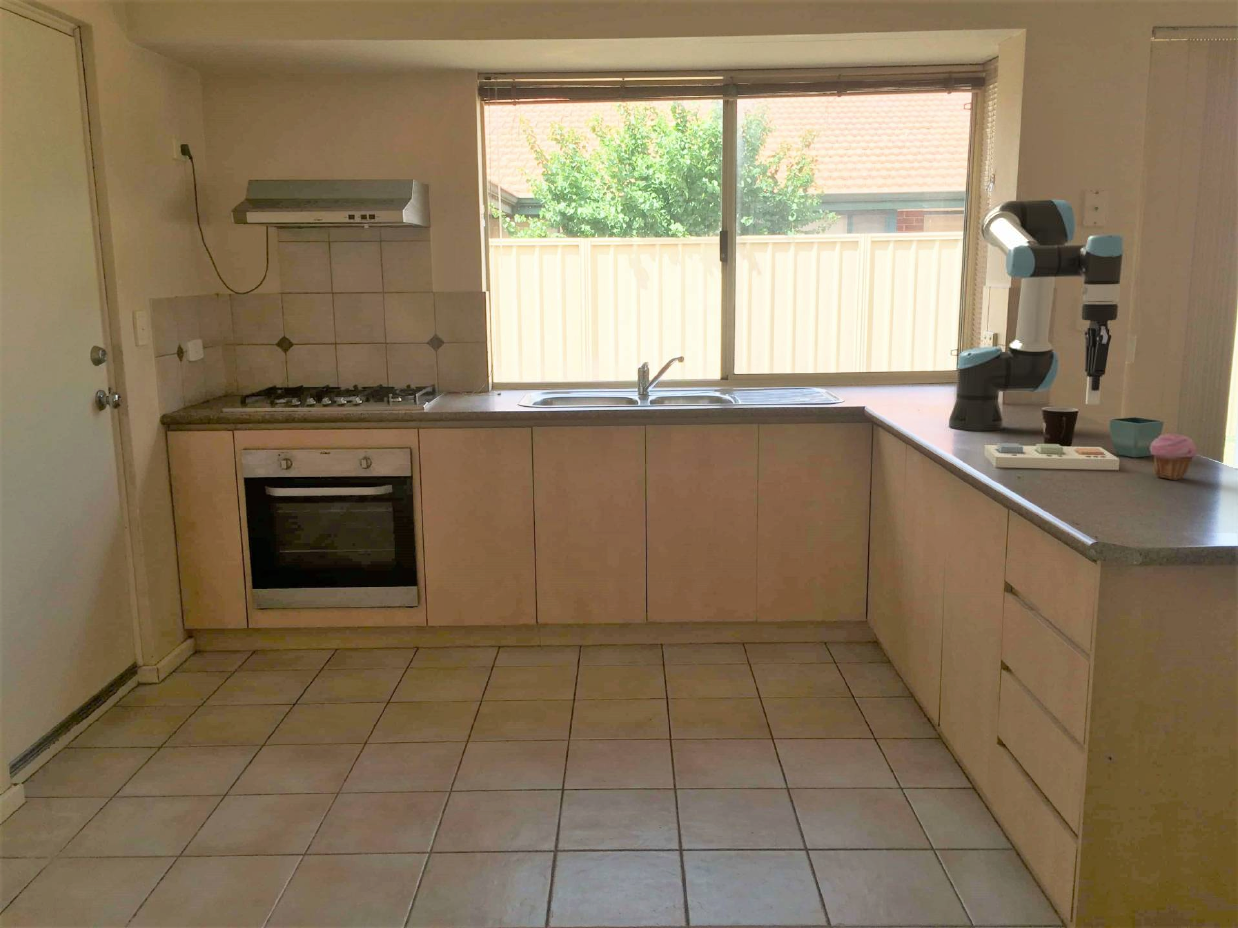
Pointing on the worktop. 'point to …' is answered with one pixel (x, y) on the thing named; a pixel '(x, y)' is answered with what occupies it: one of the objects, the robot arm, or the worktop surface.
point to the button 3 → (1089, 451)
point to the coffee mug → (1059, 425)
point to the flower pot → (1134, 435)
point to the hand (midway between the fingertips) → (1092, 403)
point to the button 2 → (1049, 449)
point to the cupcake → (1172, 455)
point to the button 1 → (1009, 448)
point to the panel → (1051, 459)
